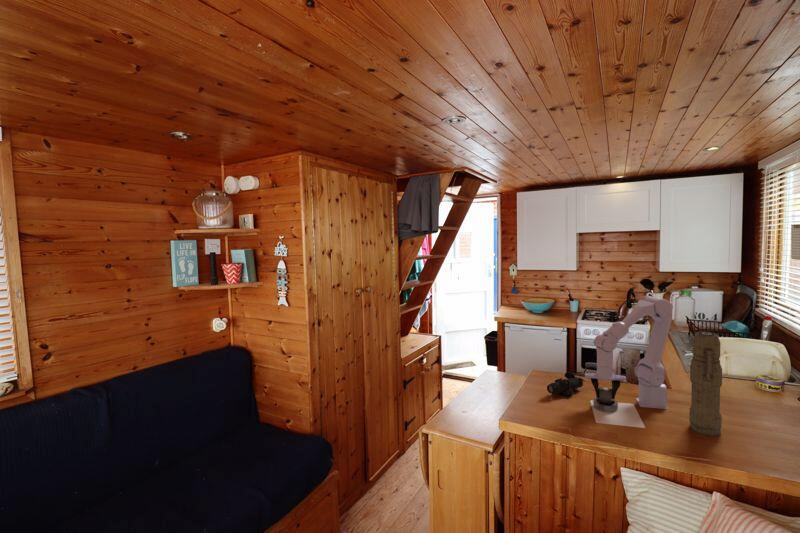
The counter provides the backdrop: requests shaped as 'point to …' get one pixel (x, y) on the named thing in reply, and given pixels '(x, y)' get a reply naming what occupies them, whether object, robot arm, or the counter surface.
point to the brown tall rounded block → (706, 385)
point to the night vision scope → (565, 385)
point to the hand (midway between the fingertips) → (605, 397)
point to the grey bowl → (605, 405)
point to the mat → (619, 416)
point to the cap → (605, 394)
